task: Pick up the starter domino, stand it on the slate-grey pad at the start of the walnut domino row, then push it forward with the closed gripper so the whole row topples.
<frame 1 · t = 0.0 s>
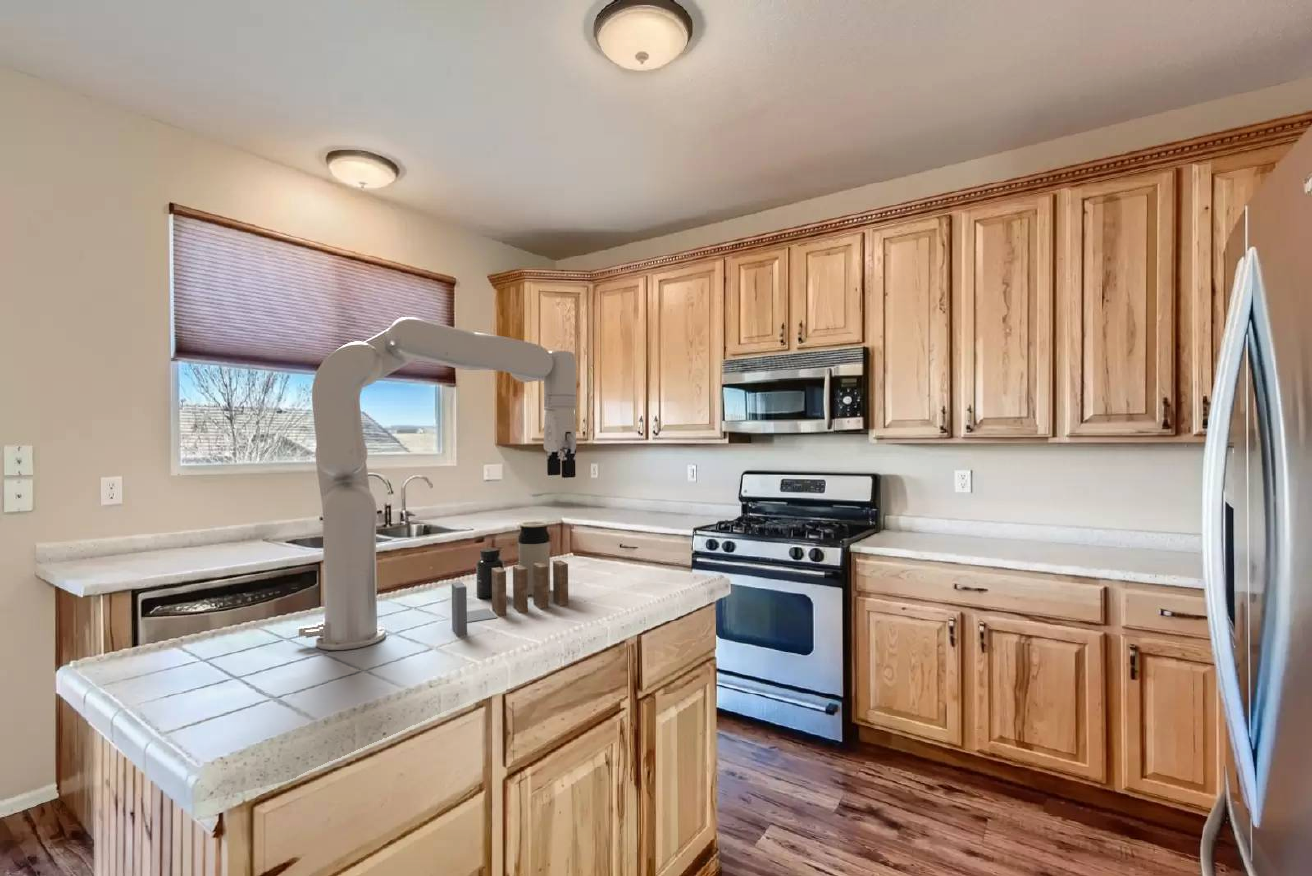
hand: (561, 476, 148), 31 cm above the countertop, fingers open, 9 cm apart
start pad: (477, 615, 142), on the countertop
supplement bottle: (490, 596, 160), on the countertop
domino 3: (541, 606, 150), on the countertop
travel mug: (534, 592, 163), on the countertop
starter domino: (459, 632, 131), on the countertop
domino 1: (499, 612, 145), on the countertop
domino 4: (560, 603, 152), on the countertop
domino 2: (520, 609, 147), on the countertop
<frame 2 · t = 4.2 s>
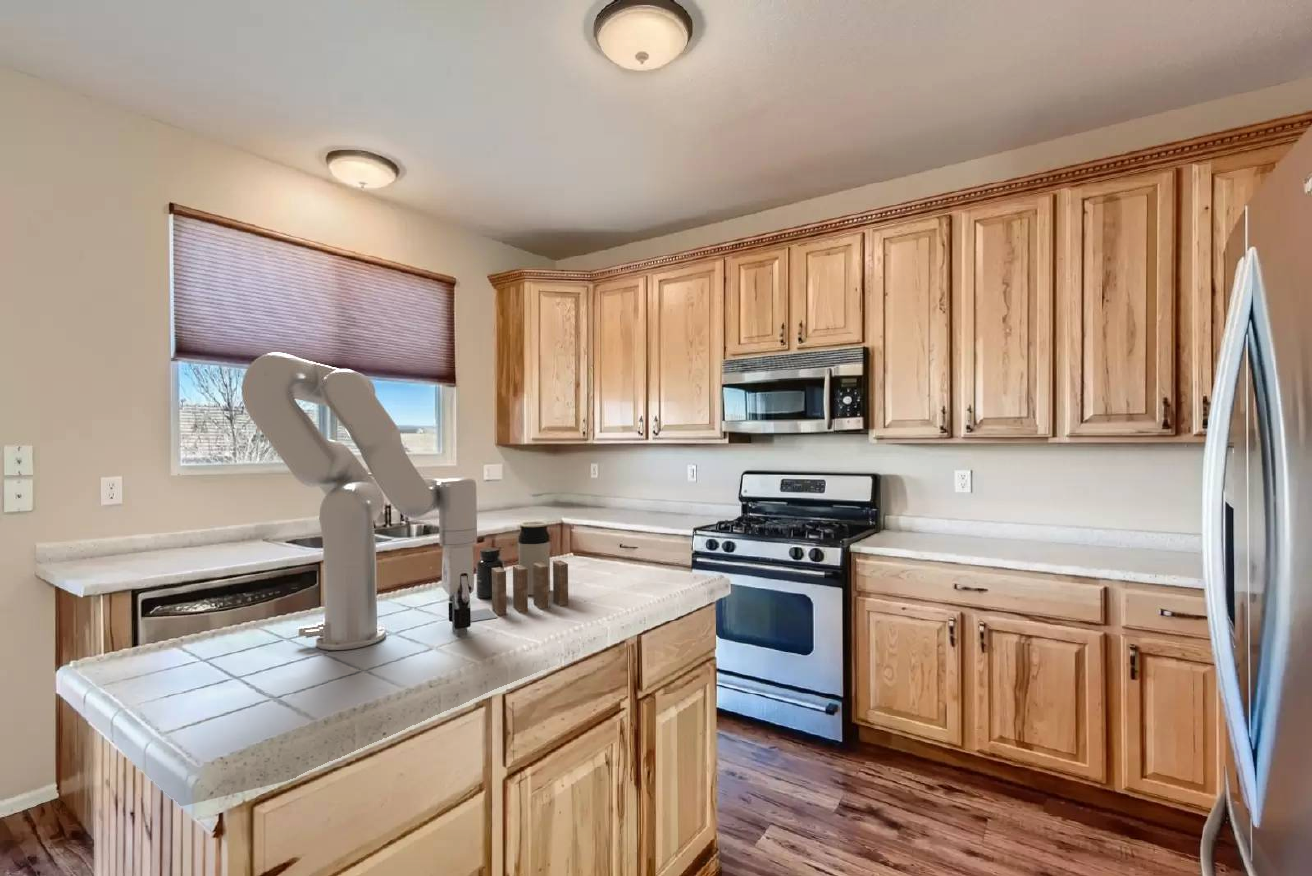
hand: (459, 623, 131), 2 cm above the countertop, fingers closed on starter domino, 4 cm apart
starter domino: (459, 632, 131), on the countertop, touching gripper
everything else where it was.
when the fingers open (3 cm above the countertop, at t = 10.5 s): starter domino stays where it is, resting on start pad.
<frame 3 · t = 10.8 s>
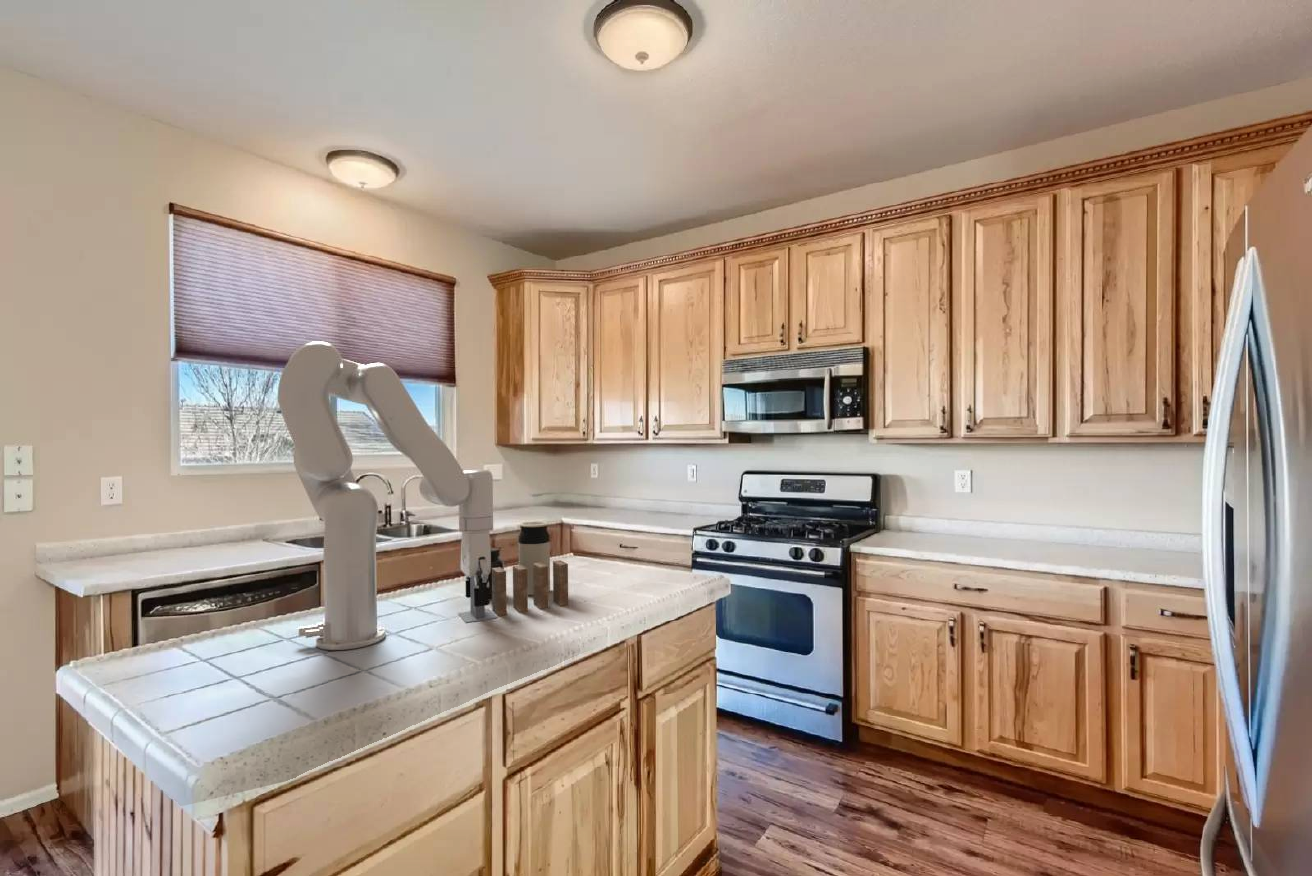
hand: (477, 600, 142), 3 cm above the countertop, fingers open, 8 cm apart
starter domino: (477, 615, 142), resting on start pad
everything else where it was.
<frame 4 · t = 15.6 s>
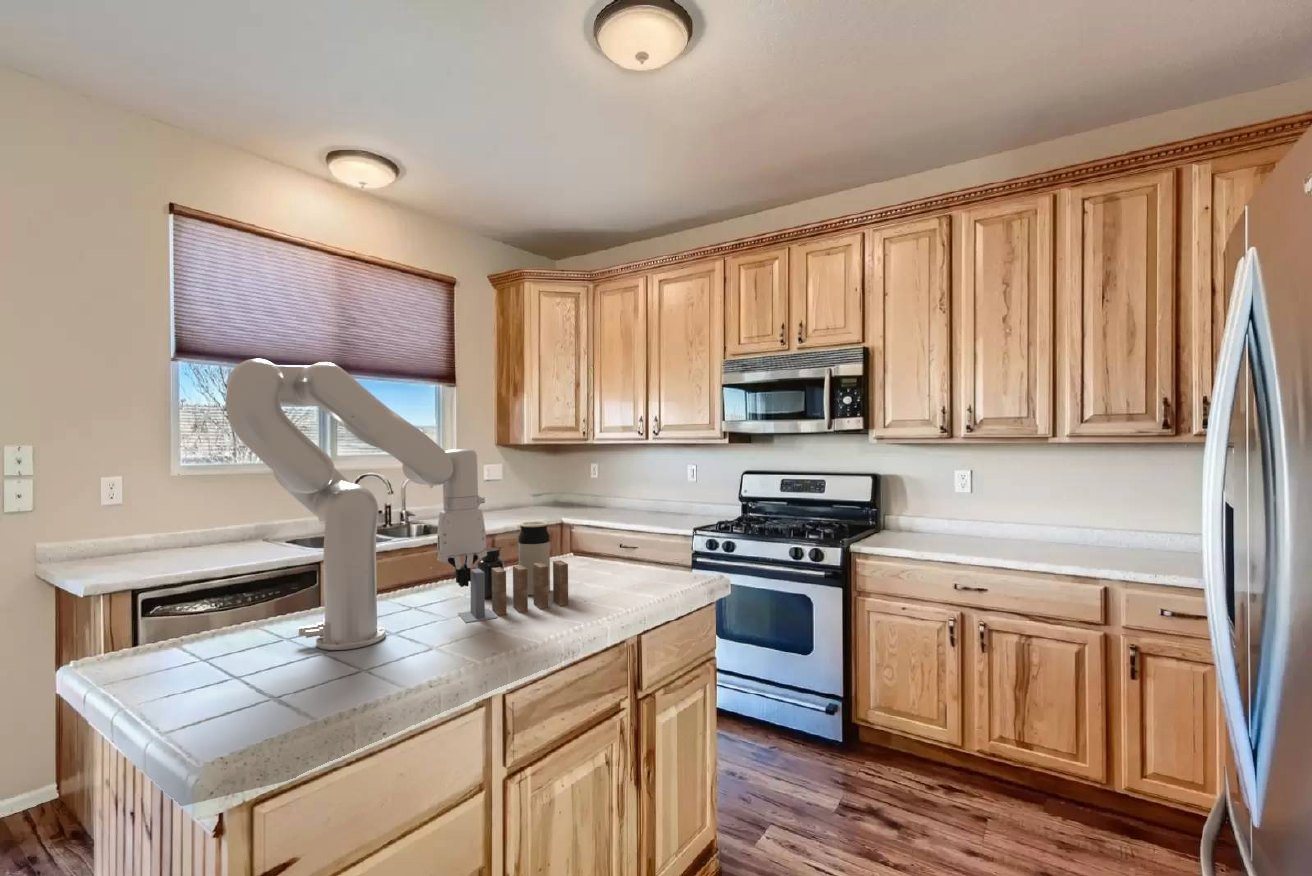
hand: (463, 585, 141), 7 cm above the countertop, fingers closed
starter domino: (477, 615, 142), resting on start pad, touching gripper
everything else where it was.
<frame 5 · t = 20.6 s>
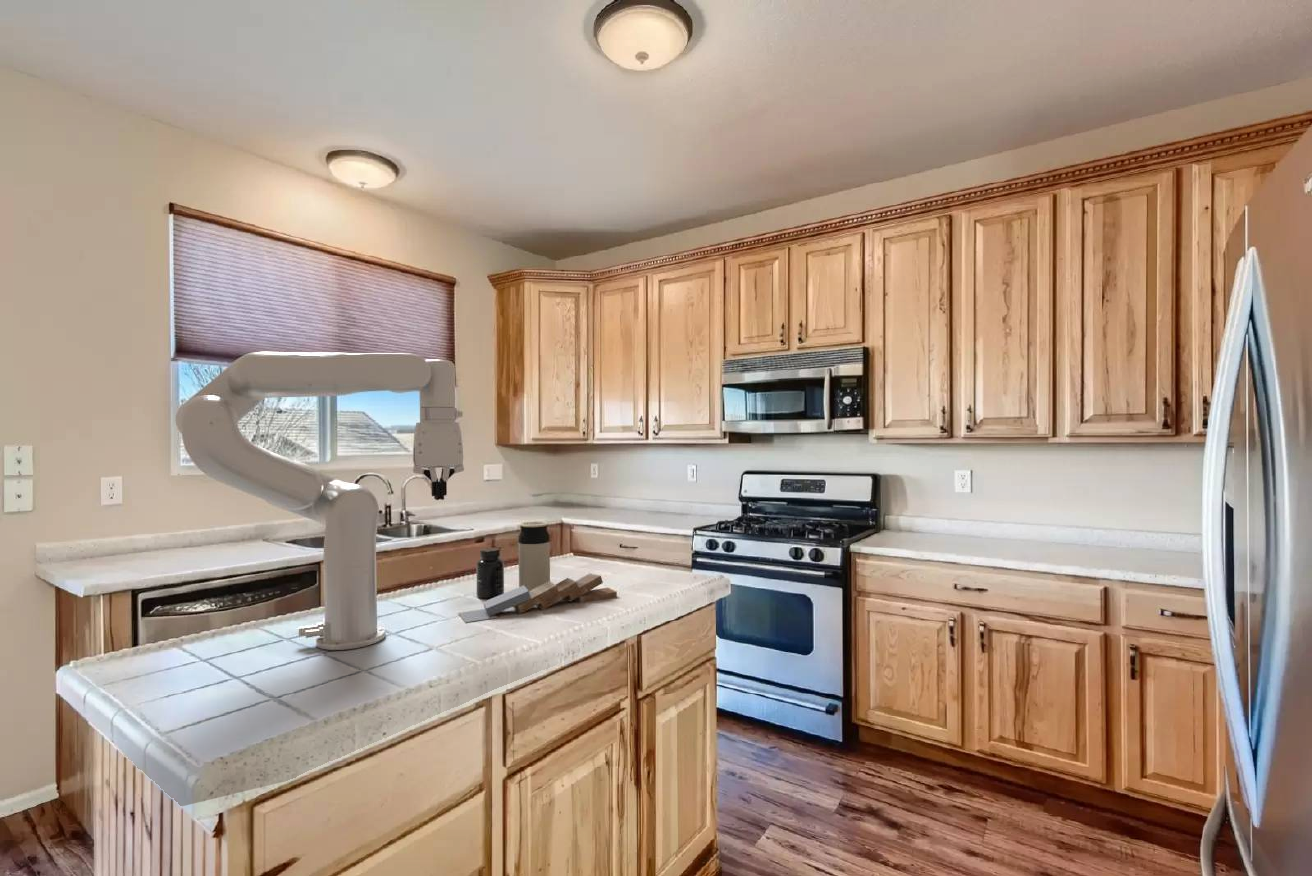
hand: (439, 499, 138), 27 cm above the countertop, fingers closed
domino 3: (564, 596, 153), point 1 cm above the countertop, tilted 73°, touching domino 4
starter domino: (485, 609, 143), point 1 cm above the countertop, tilted 73°, touching domino 1, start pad
domino 1: (515, 607, 146), point 1 cm above the countertop, tilted 69°, touching starter domino
domino 4: (575, 599, 155), on the countertop, tilted 90°, touching domino 3
domino 2: (537, 603, 149), point 1 cm above the countertop, tilted 69°
everything else where it was.
at the end: domino 4 tilted 90°; starter domino tilted 73°; starter domino inside the target area (0.9 cm from its centre), point 1.3 cm above the countertop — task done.
